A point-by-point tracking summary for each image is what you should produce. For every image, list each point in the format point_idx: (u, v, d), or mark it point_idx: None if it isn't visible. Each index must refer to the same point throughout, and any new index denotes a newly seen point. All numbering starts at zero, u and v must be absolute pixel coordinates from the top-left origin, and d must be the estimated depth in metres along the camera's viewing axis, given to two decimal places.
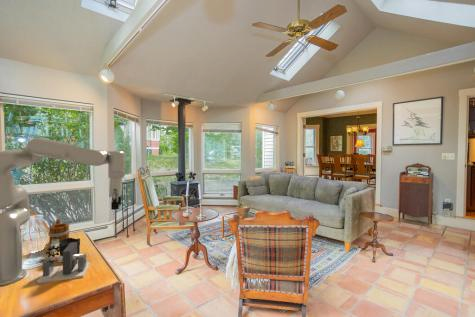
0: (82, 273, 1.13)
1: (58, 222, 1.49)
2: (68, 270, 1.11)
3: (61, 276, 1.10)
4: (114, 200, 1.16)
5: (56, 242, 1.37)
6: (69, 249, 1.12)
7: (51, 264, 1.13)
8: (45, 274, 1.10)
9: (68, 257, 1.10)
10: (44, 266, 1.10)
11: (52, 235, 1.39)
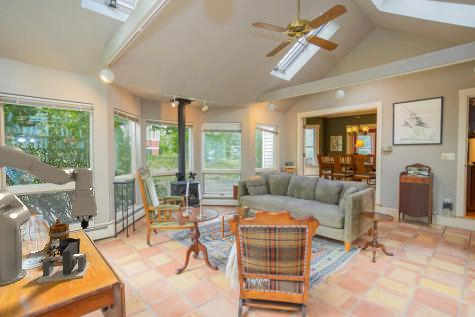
0: (82, 273, 1.13)
1: (58, 222, 1.49)
2: (68, 270, 1.11)
3: (61, 276, 1.10)
4: None
5: (56, 242, 1.38)
6: (69, 249, 1.12)
7: (51, 264, 1.13)
8: (45, 274, 1.10)
9: (68, 257, 1.10)
10: (44, 266, 1.10)
11: (52, 235, 1.40)
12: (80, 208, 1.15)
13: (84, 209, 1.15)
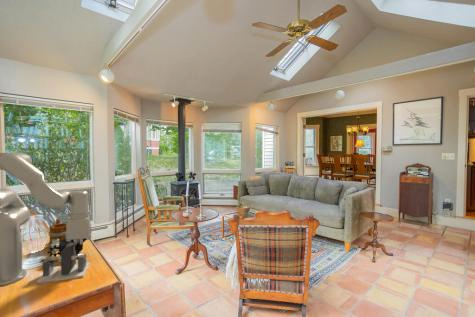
0: (82, 273, 1.13)
1: (58, 222, 1.49)
2: (67, 270, 1.11)
3: (61, 276, 1.10)
4: (84, 241, 1.19)
5: (56, 242, 1.38)
6: (68, 249, 1.12)
7: (51, 264, 1.13)
8: (45, 274, 1.10)
9: (67, 257, 1.10)
10: (44, 266, 1.10)
11: (52, 235, 1.40)
12: (74, 232, 1.14)
13: (78, 233, 1.15)
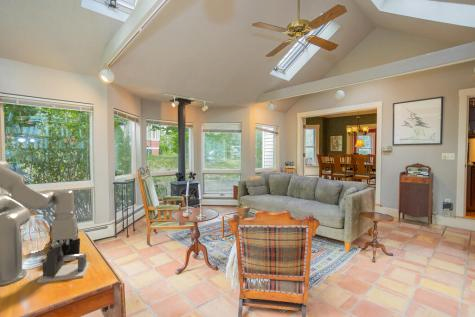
0: (82, 273, 1.13)
1: None
2: (52, 272, 1.09)
3: (61, 276, 1.10)
4: None
5: (57, 242, 1.38)
6: (54, 251, 1.10)
7: None
8: (45, 274, 1.10)
9: (52, 259, 1.08)
10: (44, 266, 1.10)
11: None
12: (60, 232, 1.12)
13: (64, 233, 1.13)
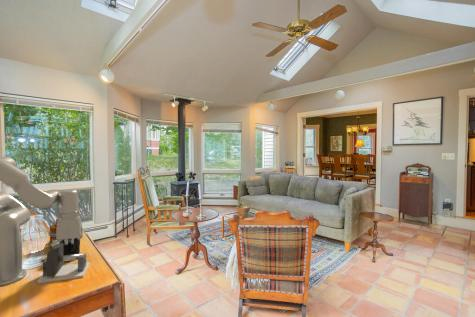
0: (82, 273, 1.13)
1: None
2: (53, 272, 1.09)
3: (61, 276, 1.10)
4: (75, 240, 1.17)
5: (57, 241, 1.38)
6: (54, 251, 1.10)
7: None
8: (45, 274, 1.10)
9: (53, 259, 1.08)
10: (44, 266, 1.10)
11: (53, 235, 1.40)
12: (65, 231, 1.13)
13: (69, 232, 1.14)
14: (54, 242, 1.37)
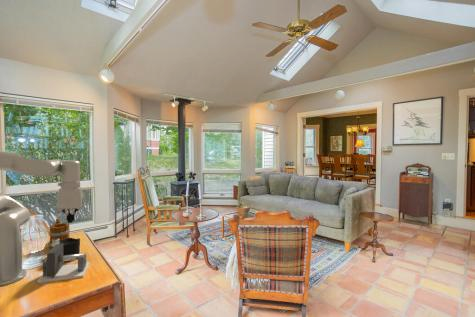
0: (82, 273, 1.13)
1: (58, 222, 1.50)
2: (53, 272, 1.09)
3: (61, 276, 1.10)
4: (76, 211, 1.17)
5: (57, 241, 1.38)
6: (54, 251, 1.10)
7: None
8: (45, 274, 1.10)
9: (53, 259, 1.08)
10: (44, 266, 1.10)
11: (53, 235, 1.40)
12: (66, 201, 1.13)
13: (70, 202, 1.13)
14: (54, 242, 1.38)
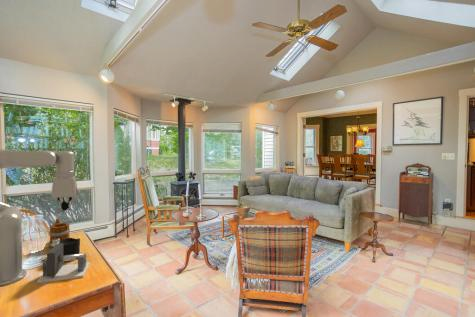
0: (82, 273, 1.13)
1: (58, 222, 1.50)
2: (53, 272, 1.09)
3: (61, 276, 1.10)
4: (70, 200, 1.23)
5: (57, 241, 1.39)
6: (54, 251, 1.10)
7: None
8: (45, 274, 1.10)
9: (53, 259, 1.08)
10: (44, 266, 1.10)
11: (53, 234, 1.40)
12: (60, 190, 1.19)
13: (64, 191, 1.19)
14: (54, 242, 1.38)
